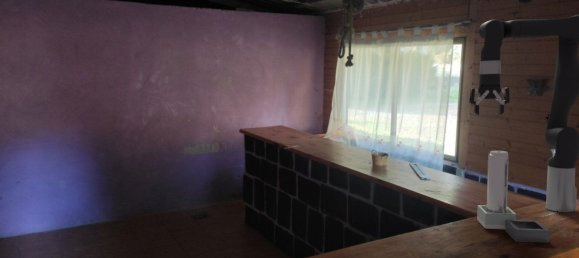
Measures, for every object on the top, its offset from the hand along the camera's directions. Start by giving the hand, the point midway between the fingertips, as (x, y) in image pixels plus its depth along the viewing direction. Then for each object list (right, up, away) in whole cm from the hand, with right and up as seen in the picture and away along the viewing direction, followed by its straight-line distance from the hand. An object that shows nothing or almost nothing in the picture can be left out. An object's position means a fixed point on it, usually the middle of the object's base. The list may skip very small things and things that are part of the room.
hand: (488, 114), depth 170 cm
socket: (0, -41, -27) cm, 49 cm away
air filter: (-4, -39, -14) cm, 41 cm away
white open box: (-4, -40, -14) cm, 43 cm away
